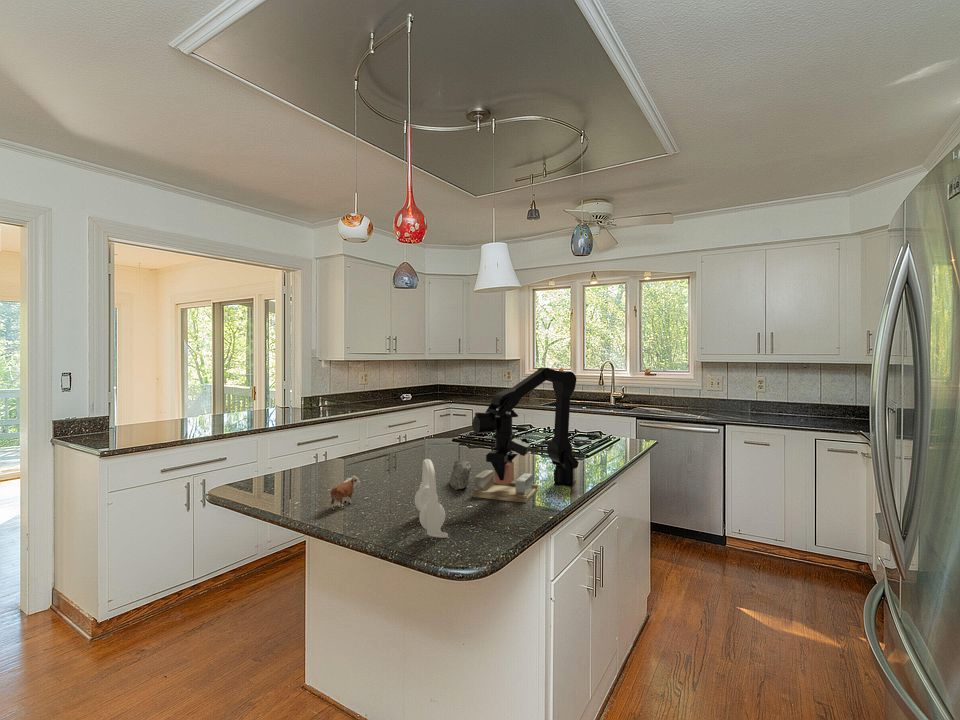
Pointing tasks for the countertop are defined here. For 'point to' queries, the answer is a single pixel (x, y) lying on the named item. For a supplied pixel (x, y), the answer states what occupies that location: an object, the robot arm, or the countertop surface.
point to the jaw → (524, 484)
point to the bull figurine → (344, 490)
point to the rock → (460, 474)
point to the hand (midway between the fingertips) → (504, 478)
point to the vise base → (498, 489)
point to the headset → (430, 502)
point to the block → (506, 474)
